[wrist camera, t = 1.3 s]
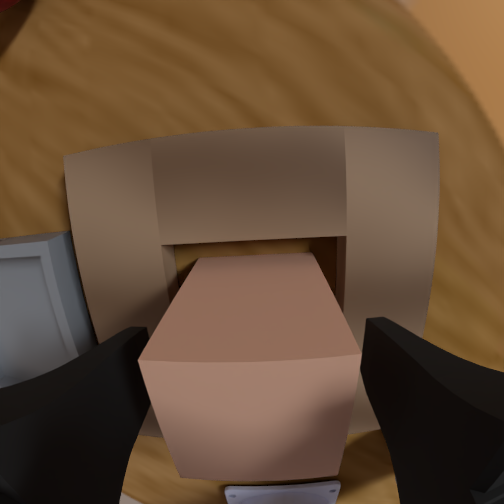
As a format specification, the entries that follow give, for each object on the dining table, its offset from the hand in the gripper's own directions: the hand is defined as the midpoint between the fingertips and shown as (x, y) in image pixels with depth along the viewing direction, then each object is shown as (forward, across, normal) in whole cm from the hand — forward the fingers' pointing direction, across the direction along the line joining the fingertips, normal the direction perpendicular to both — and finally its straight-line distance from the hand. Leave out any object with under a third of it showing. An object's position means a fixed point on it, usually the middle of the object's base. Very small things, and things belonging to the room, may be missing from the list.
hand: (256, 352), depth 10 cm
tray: (+3, +13, +1) cm, 13 cm away
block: (+3, 0, 0) cm, 4 cm away
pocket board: (+3, 0, 0) cm, 3 cm away
